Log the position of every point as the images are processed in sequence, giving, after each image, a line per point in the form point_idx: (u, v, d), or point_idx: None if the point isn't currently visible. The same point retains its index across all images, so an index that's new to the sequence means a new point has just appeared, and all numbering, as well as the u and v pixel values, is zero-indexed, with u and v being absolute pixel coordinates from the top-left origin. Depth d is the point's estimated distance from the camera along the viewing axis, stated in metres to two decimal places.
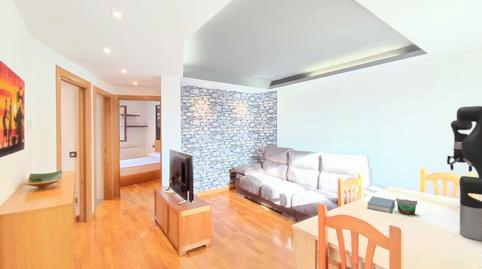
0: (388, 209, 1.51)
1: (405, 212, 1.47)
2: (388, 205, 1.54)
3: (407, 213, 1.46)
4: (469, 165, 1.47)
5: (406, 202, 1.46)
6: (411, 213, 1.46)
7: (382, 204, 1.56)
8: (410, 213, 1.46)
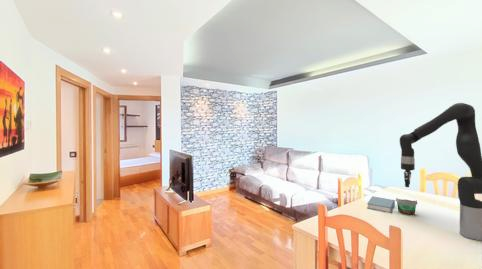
0: (388, 209, 1.51)
1: (405, 212, 1.47)
2: (388, 205, 1.54)
3: (407, 213, 1.46)
4: (410, 178, 1.49)
5: (406, 202, 1.46)
6: (411, 213, 1.46)
7: (382, 204, 1.56)
8: (410, 213, 1.46)
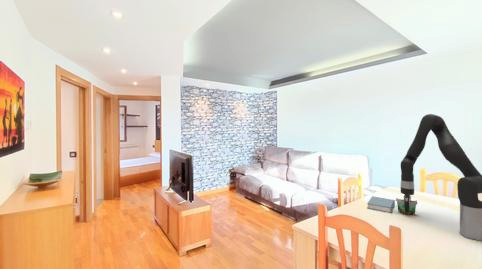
0: (388, 209, 1.51)
1: (405, 212, 1.47)
2: (388, 205, 1.54)
3: (407, 213, 1.46)
4: None
5: None
6: (411, 213, 1.46)
7: (382, 204, 1.56)
8: (410, 213, 1.46)
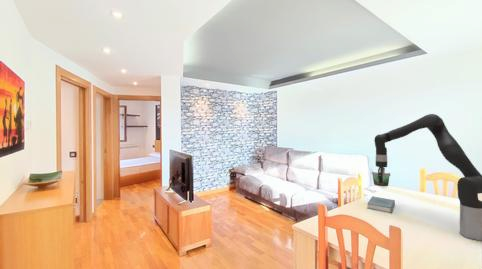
0: (388, 209, 1.51)
1: (379, 183, 1.60)
2: (388, 205, 1.54)
3: (381, 184, 1.60)
4: None
5: None
6: (384, 184, 1.59)
7: (382, 204, 1.56)
8: (383, 184, 1.59)
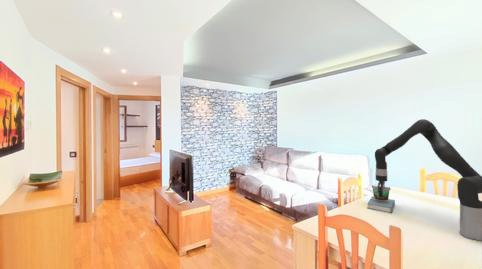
0: (388, 209, 1.51)
1: (379, 197, 1.61)
2: (388, 205, 1.54)
3: (381, 198, 1.60)
4: None
5: None
6: (384, 198, 1.59)
7: (382, 204, 1.56)
8: (383, 198, 1.59)
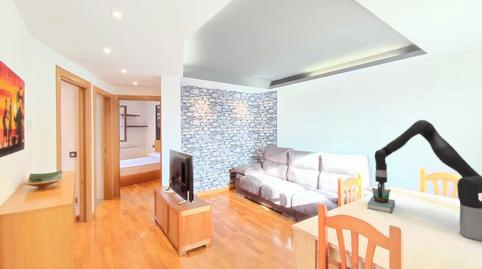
0: (388, 209, 1.51)
1: (379, 200, 1.60)
2: (388, 205, 1.54)
3: (381, 200, 1.59)
4: None
5: (380, 190, 1.59)
6: (384, 200, 1.59)
7: (382, 204, 1.56)
8: (383, 200, 1.59)
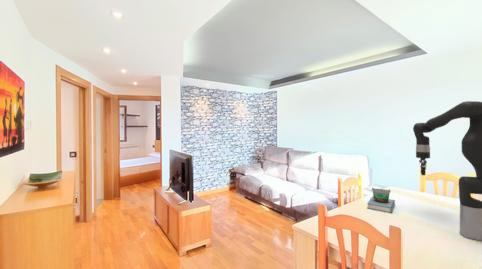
0: (388, 209, 1.51)
1: (379, 200, 1.60)
2: (388, 205, 1.54)
3: (381, 201, 1.59)
4: None
5: (380, 191, 1.59)
6: (384, 201, 1.59)
7: (382, 204, 1.56)
8: (383, 201, 1.59)
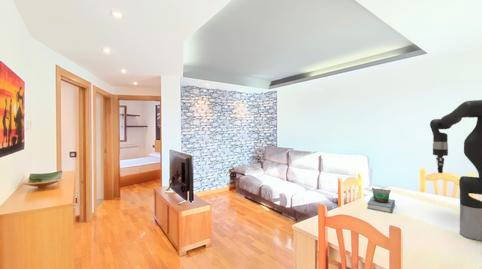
0: (388, 209, 1.51)
1: (379, 200, 1.60)
2: (388, 205, 1.54)
3: (381, 201, 1.59)
4: None
5: (380, 191, 1.59)
6: (384, 201, 1.59)
7: (382, 204, 1.56)
8: (383, 201, 1.59)
